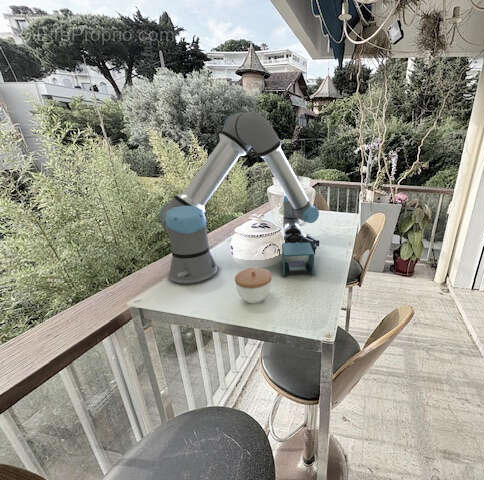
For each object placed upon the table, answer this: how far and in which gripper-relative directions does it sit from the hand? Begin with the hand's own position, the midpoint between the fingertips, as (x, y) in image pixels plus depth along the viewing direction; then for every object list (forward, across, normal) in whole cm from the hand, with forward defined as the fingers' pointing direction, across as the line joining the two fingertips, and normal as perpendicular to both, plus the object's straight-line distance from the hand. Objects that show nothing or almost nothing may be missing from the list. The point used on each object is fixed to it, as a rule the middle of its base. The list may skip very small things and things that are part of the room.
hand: (296, 251), depth 102 cm
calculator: (+3, 0, -6) cm, 7 cm away
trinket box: (+21, +15, -6) cm, 26 cm away
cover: (+3, 0, -6) cm, 7 cm away
